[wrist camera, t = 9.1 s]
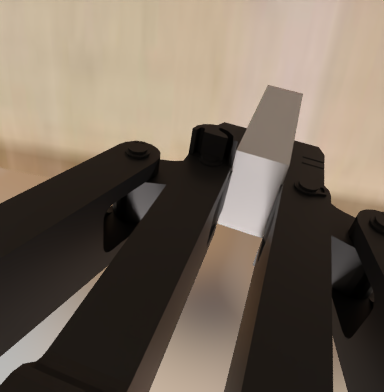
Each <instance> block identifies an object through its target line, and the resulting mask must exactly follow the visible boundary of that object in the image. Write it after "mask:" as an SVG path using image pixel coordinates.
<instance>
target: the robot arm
mask: <svg viewBox="0 0 384 392" xmlns="http://www.w3.org/2000/svg"><path fill="white" fill-rule="evenodd" d="M302 96H303V94H302V93H298V92H294V91H290V90H286V89H282V88H278V87H274V86H270V85H268V86H267V88H266V90H265V92H264V94H263V97H262V99H261V101H260V103H259V105H258V107H257V109H256V111H255V113H254V115H253V117H252V119H251V121H250V123H249V125H248V127H247V128H243V127H240V126H236V125H233V124H229V123H225V122H224V123H222V124H219V125H213V124H203V125H198V126H196V127H194V128H193V131H192V137H191V143H190V148H189V154H188V155H187V157H186V158H185V160H184V161H168V160H160V151H159V150H158V149H157V148H156V147H154V146H153V145H151V144H148V143H145V142H142V141H140V142H139V141H130V142H124V143H121V144H119V145H117V146H115V147H113V148H111V149H109V150H107V151H105V152H103V153H101V154H99V155H97V156H95V157H93V158H91V159H89V160H87V161H85V162H83V163H81V164H79V165H77V166H75V167H73V168H71V169H69V170H67V171H65V172H63V173H61V174H59V175H57V176H55V177H53V178H51V179H49V180H47V181H45V182H43V183H41V184H39V185H37V186H35V187H33V188H31V189H29V190H27V191H25V192H23V193H21V194H19V195H17V196H15V197H12V198H11V199H8V200H6V201H5V202H3V203H1V204H0V356H1V355H3V354H4V353H5V352H6V351H8V350H9V349H10V348H11V347H12V346H14V345H15V344H16V343H17V342H18V341H19V340H20V339H22V338H23V337H24V336H25V335H26V334H28V333H29V332H30V331H31V330H32V329H34V328H35V327H36V326H37V325H38V324H39V323H41V322H42V321H43V320H44V319H45V318H46V317H48V316H49V315H50V314H51V313H52V312H54V311H55V310H56V309H57V308H58V307H60V306H61V305H62V304H63V303H64V302H65V301H67V300H68V299H69V298H70V297H71V296H72V295H74V294H75V293H76V292H77V291H78V290H80V289H81V288H82V287H83V286H84V285H86V284H87V283H88V282H89V281H90V280H91V279H93V278H94V277H95V276H96V275H97V274H98V273H100V272H101V271H102V270H103V269H104V268H106V267H107V266H108V267H107V268H106V270H105V271H104V272H103V274H102V275H101V276H100V278H99V280H98V281H97V282H96V283H95V285H94V286H93V288H92V289H91V290H90V292H89V293H88V295H87V296H86V297H85V299H84V300H83V302H82V303H81V304H80V306H79V307H78V309H77V310H76V311H75V313H74V314H73V316H72V317H71V318H70V320H69V321H68V322H67V324H66V325H65V327H64V328H63V329H62V331H61V332H60V333H59V335H58V336H57V338H56V339H55V340H54V342H53V343H52V345H51V346H50V347H49V349H48V350H47V351H46V353H45V354H44V355H43V356H42V357H41V358H40V359H39V360H37V361H36V362H30V363H25V364H22V365H21V366H20V367H18V368H17V369H16V370H14V371H13V372H12V373H11V374H10V375H9V376H8V377H7V378H6V380H5V381H4V382H3V383H2V384H1V385H0V392H149V390H150V388H151V385H152V383H153V381H154V378H155V376H156V373H157V371H158V368H159V366H160V363H161V361H162V359H163V356H164V354H165V352H166V349H167V347H168V344H169V342H170V339H171V337H172V334H173V332H174V330H175V327H176V324H177V322H178V320H179V317H180V315H181V313H182V310H183V308H184V305H185V303H186V301H187V298H188V296H189V293H190V291H191V288H192V286H193V284H194V281H195V279H196V276H197V274H198V271H199V269H200V267H201V264H202V262H203V259H204V257H205V255H206V252H207V250H208V247H209V245H210V242H211V240H212V238H213V235H214V232H215V229H216V225H217V221H218V224H221V225H224V226H227V227H230V228H233V229H236V230H239V231H242V232H245V233H248V234H251V235H254V236H257V237H260V238H263V239H262V242H261V244H260V247H259V250H258V252H257V255H256V258H255V260H254V263H253V265H254V266H255V267H254V271H253V275H252V279H251V283H250V287H249V291H248V296H247V300H246V304H245V308H244V312H243V316H242V321H241V324H240V328H239V333H238V337H237V341H236V345H235V349H234V353H233V357H232V361H231V366H230V369H229V374H228V378H227V382H226V386H225V390H224V392H333V348H332V347H333V345H332V344H333V343H332V335H333V339H334V342H335V346H336V350H337V353H338V357H339V361H340V365H341V368H342V371H343V376H344V379H345V383H346V387H347V390H348V392H384V212H380V211H376V210H363V211H360V212H359V213H358V215H357V217H356V218H355V217H353V216H351V215H349V214H347V213H345V212H343V211H341V210H339V209H338V208H336V207H335V206H334V205H332V204H331V195H330V192H329V190H328V189H327V188H326V187H325V186H324V154H323V153H322V151H321V150H320V148H319V147H316V146H312V145H309V144H305V143H301V142H298V141H294V139H295V133H296V128H297V122H298V117H299V112H300V106H301V101H302ZM112 204H113V205H112ZM111 205H112V206H111ZM110 206H111V207H110ZM218 219H219V220H218ZM263 235H264V236H263Z"/></svg>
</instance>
